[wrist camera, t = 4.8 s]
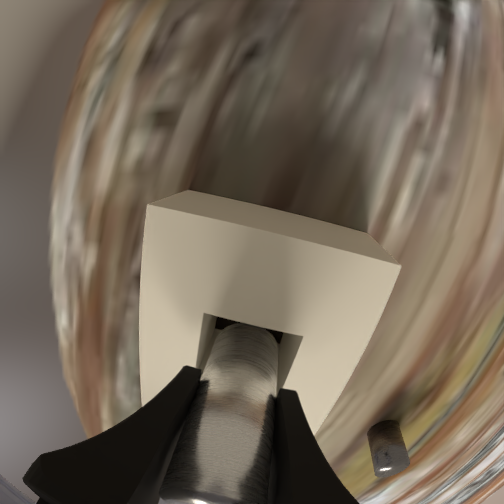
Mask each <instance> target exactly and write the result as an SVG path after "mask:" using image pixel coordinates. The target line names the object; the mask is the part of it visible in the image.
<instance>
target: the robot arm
mask: <svg viewBox="0 0 504 504" xmlns="http://www.w3.org/2000/svg"><path fill="white" fill-rule="evenodd" d="M201 372H202V370H201V369H198V368H194V367H191V366H188V365H186V366H183V368H182V369H181V370H180V371H179V373H178V374H177V375H176V376H175V377H174V378H173V379H172V380H171V381H170V382H169V383H168V384H167V385H166V387H164V388H163V389H162V390H161V391H160V392H159V393H158V394H157V395H156V396H155V397H154V398H152V399H151V400H150V401H149V402H148V403H146V404H145V405H144V406H143V407H141V408H140V409H139V410H138V411H136V412H135V413H134V414H132V415H131V416H129V417H128V418H126V419H125V420H123V421H122V422H120V423H118V424H117V425H115V426H113V427H112V428H110V429H108V430H106V431H104V432H102V433H101V434H98V435H96V436H94V437H92V438H90V439H87V440H85V441H82V442H80V443H78V444H75V445H72V446H69V447H66V448H63V449H59V450H56V451H52V452H48V453H44V454H41V455H40V456H39V457H38V458H37V459H36V460H35V462H34V463H33V464H32V465H31V467H30V468H29V469H28V471H27V472H26V474H25V476H24V477H23V482H24V483H25V484H26V485H27V486H28V487H29V488H30V489H31V490H32V491H33V492H35V494H37V495H38V496H39V497H40V498H39V500H38V502H37V503H36V502H34V501H33V500H32V499H30V498H29V497H28V496H26V495H25V494H24V493H22V492H21V491H19V490H18V489H17V488H16V487H15V486H13V485H12V484H11V483H10V482H8V481H7V480H6V479H5V478H4V477H2V475H0V504H168V503H166V502H165V501H164V500H163V499H162V498H161V497H160V496H159V490H160V488H161V485H162V482H163V480H164V477H165V474H166V471H167V469H168V466H169V463H170V461H171V458H172V455H173V452H174V450H175V447H176V444H177V442H178V439H179V436H180V434H181V431H182V428H183V425H184V423H185V420H186V417H187V415H188V412H189V409H190V407H191V404H192V402H193V399H194V396H195V394H196V391H197V388H198V386H199V383H200V379H201ZM267 504H359V503H358V502H357V500H356V499H355V498H354V497H353V496H352V495H351V494H350V492H349V491H348V490H347V489H346V488H345V487H344V485H343V484H342V483H341V481H340V480H339V478H338V477H337V476H336V474H335V473H334V471H333V470H332V468H331V467H330V465H329V463H328V462H327V460H326V458H325V457H324V455H323V453H322V451H321V449H320V447H319V445H318V443H317V441H316V439H315V437H314V435H313V433H312V430H311V428H310V426H309V424H308V421H307V419H306V416H305V413H304V411H303V408H302V405H301V402H300V399H299V396H298V393H297V392H296V390H290V389H284V388H280V390H279V392H278V395H277V397H276V403H275V418H274V432H273V445H272V457H271V469H270V480H269V490H268V500H267Z"/></svg>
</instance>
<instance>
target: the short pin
mask: <svg viewBox="0 0 504 504" xmlns="http://www.w3.org/2000/svg"><path fill="white" fill-rule="evenodd" d="M367 436H368V441H369V446H370V451H371V456H372V461H373V466H374V472H375V476H377V477H387V476H391V475H394V474H397V473H399V472H401V471H403V470H404V469H406V468H407V467H408V466H409V464H410V460H409V457H408V453H407V450H406V447H405V443H404V440H403V437H402V433H401V430H400V427H399V424H398V422H397V421H394V420H388V421H383V422H380V423H378V424H376V425H374V426H373V427H372V428H370V430H369V431H368V433H367Z"/></svg>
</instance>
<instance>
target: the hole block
mask: <svg viewBox="0 0 504 504" xmlns="http://www.w3.org/2000/svg"><path fill="white" fill-rule="evenodd" d="M400 269H401V265H400V264H399V263H398V262H397V261H396V260H395V259H394V258H393V257H392V256H391V255H390V254H389V253H388V252H387V251H386V250H385V249H384V248H383V247H382V246H381V245H380V244H379V243H378V242H377V241H375V240H374V239H373V238H372V237H371V236H370V235H369V234H368V233H365V232H361V231H358V230H354V229H350V228H347V227H343V226H340V225H336V224H332V223H328V222H325V221H321V220H317V219H313V218H309V217H305V216H301V215H297V214H293V213H289V212H285V211H281V210H277V209H273V208H269V207H265V206H260V205H256V204H252V203H247V202H243V201H238V200H234V199H229V198H225V197H220V196H216V195H211V194H206V193H201V192H197V191H192V190H186V191H183V192H180V193H177V194H174V195H171V196H169V197H166V198H163V199H160V200H157V201H154V202H152V203H149V204H147V210H146V218H145V228H144V238H143V250H142V263H141V280H140V305H139V358H140V383H141V399H142V407H143V406H144V405H145V404H146V403H148V402H149V401H150V400H151V399H152V398H154V397H155V396H156V395H157V394H158V393H159V392H160V391H161V390H162V389H163V388H164V387H166V385H167V384H168V383H169V382H170V381H171V380H172V379H173V378H174V377H175V376H176V375H177V374H178V373H179V371H180V370H181V369H182V368H183V366H186V365H188V366H191V367H194V368H198V369H201V370H202V372H201V377H202V374H203V372H204V369H205V366H206V364H207V361H208V358H209V356H210V353H211V350H212V348H213V345H214V342H215V340H216V337H217V335H218V334H219V333H220V332H221V331H222V330H219V329H215V325H216V319H217V316H218V317H222V318H226V319H230V320H234V321H238V322H242V323H246V324H250V325H255V326H259V327H263V328H268V329H272V330H276V331H281V332H284V333H283V336H282V339H281V342H280V344H278V343H277V344H278V350H279V351H278V370H277V387H276V397H277V395H278V392H279V390H280V388H284V389H290V390H296V392H297V393H298V396H299V399H300V402H301V405H302V408H303V411H304V413H305V416H306V419H307V421H308V424H309V426H310V428H311V430H312V433H313V435H315V433H316V432H317V430H318V429H319V428H320V426H321V424H322V423H323V421H324V420H325V418H326V417H327V415H328V414H329V412H330V410H331V409H332V407H333V406H334V404H335V402H336V401H337V399H338V397H339V396H340V394H341V392H342V391H343V389H344V387H345V386H346V384H347V382H348V380H349V378H350V377H351V375H352V373H353V371H354V369H355V368H356V366H357V364H358V362H359V360H360V358H361V356H362V354H363V352H364V350H365V348H366V347H367V345H368V342H369V340H370V338H371V336H372V334H373V332H374V330H375V328H376V326H377V324H378V322H379V319H380V317H381V315H382V313H383V310H384V308H385V306H386V304H387V301H388V299H389V297H390V294H391V292H392V289H393V287H394V284H395V282H396V279H397V277H398V274H399V272H400ZM200 380H201V379H200Z"/></svg>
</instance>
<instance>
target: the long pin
mask: <svg viewBox="0 0 504 504" xmlns="http://www.w3.org/2000/svg"><path fill="white" fill-rule="evenodd" d="M278 351H279V350H278V344H277V342H276V340H275V338H274V337H273V335H272V334H271V333H270V332H268V331H267V330H266V329H264V328H262V327H259V326H255V325H250V324H246V323H238V324H233V325H230V326H228V327H226V328H224V329H223V330H222V331H221V332H220V333H219V334H218V335H217V337H216V340H215V342H214V345H213V348H212V350H211V353H210V356H209V358H208V361H207V364H206V366H205V369H204V372H203V374H202V377H201V380H200V383H199V386H198V388H197V391H196V394H195V396H194V399H193V402H192V404H191V407H190V409H189V412H188V415H187V417H186V420H185V423H184V425H183V428H182V431H181V434H180V436H179V439H178V442H177V444H176V447H175V450H174V452H173V455H172V458H171V461H170V463H169V466H168V469H167V471H166V474H165V477H164V480H163V482H162V485H161V488H160V490H159V496H160V497H161V498H162V499H163V500H164V501H165V502H166V503H168V504H267V500H268V490H269V480H270V469H271V457H272V445H273V432H274V418H275V403H276V387H277V370H278Z"/></svg>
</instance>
